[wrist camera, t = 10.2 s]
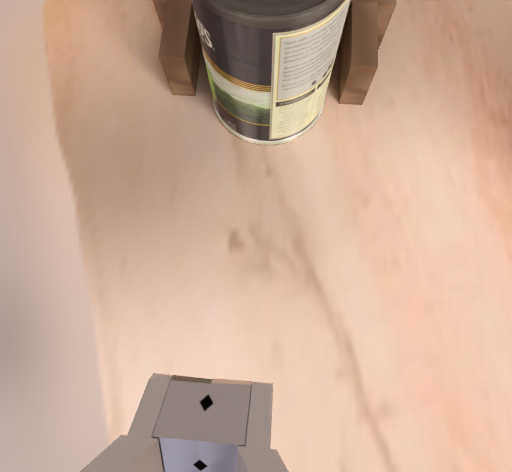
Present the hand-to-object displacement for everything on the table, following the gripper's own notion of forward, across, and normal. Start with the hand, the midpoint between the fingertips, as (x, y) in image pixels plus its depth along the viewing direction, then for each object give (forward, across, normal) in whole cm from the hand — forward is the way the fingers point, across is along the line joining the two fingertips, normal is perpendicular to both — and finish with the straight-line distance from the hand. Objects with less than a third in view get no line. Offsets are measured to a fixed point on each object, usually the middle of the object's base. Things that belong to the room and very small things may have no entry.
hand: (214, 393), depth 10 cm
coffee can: (+30, 0, -1) cm, 31 cm away
